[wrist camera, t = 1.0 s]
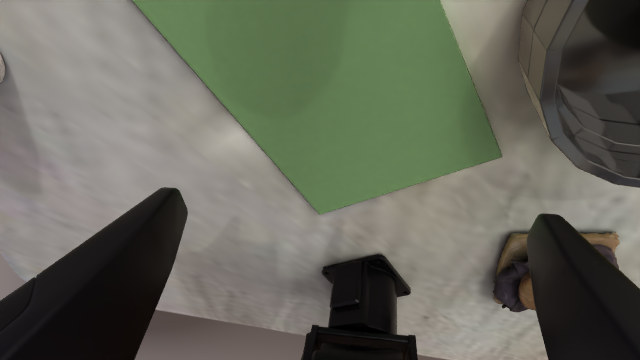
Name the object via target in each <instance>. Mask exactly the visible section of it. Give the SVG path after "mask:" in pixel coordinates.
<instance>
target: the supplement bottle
mask: <svg viewBox="0 0 640 360" xmlns="http://www.w3.org/2000/svg"><path fill="white" fill-rule="evenodd" d="M4 75H5V65H4V62H3V59H2V56H1V54H0V82H2V80H3V78H4Z"/></svg>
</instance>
